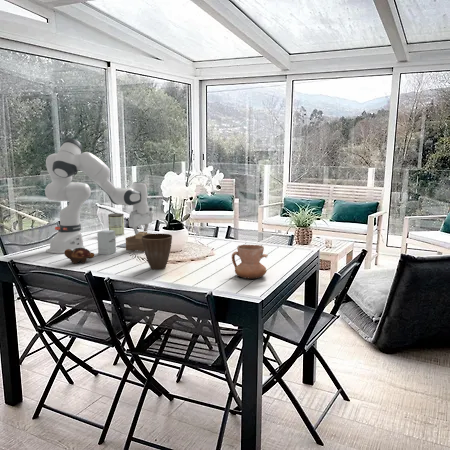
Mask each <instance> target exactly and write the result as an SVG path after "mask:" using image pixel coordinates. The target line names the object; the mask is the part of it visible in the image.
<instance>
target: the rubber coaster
mask: <svg viewBox="0 0 450 450" xmlns="http://www.w3.org/2000/svg"><path fill="white" fill-rule="evenodd" d="M116 248H122V249H123V248H125V249H126V242H124V243H121V244H116Z"/></svg>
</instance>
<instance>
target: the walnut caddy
mask: <svg viewBox="0 0 450 450" xmlns="http://www.w3.org/2000/svg"><path fill="white" fill-rule="evenodd" d="M148 234H153V233H152V232H151V233H150V232H147V235H148ZM125 243H126V248H125V250H126V251H134V252H135V250H138V251H137V252H144V248H143V243H142V239H137V238H136V237H135V234H134V235H131V236H128V237H127V236H126V237H125Z"/></svg>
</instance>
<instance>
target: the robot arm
mask: <svg viewBox="0 0 450 450" xmlns="http://www.w3.org/2000/svg"><path fill="white" fill-rule="evenodd" d="M45 167H46V170H47V173H48V174H49V177H50V180H51V182H49V183H48V184H47V185H46V186H45V190H44V194H45V197H46V198H47V199H48V200H50V201H54V202H68V206H65V207H63V208H62V209H60V211H59V226H54V230H55V231H57V233H55V235H54V237H53V238H52V239H51V240H50V243H49V244H50V245H49V247H50V248H47V249H46V250H45V252H46V253H48V254H64V252H65V250H67V249H71V250H74V249H76V248H85V249H86V246H85V245H84V241H83V235H82V232H81V230H82V225H81V221H80V220H81V219H80V218H81V216H80V215H81V209H82V207H83V205H84V203H85V202H86V201H88V199H90V197H91V195H92V190H91V186H90V185H89V184H88V183H85V182H80V181H79V182H77V181H73V175H74V176H75V175H77V174H78V173H79V172H78V171H80V172H83V174H85V175H86V176H87V177H88V178H89V179H90V180H92V181H93V182H94V183H95V184H96V185H97V186H98V188H100V189H101V190H102V191H103V192H104V193H105V194H106V195H107V197H108V199H109V200H110V202H111V204H114V205H118V206H119V205H120V206H121V205H122V206H128V207H130V206H132V211H131V212H130V213H129V216H128V226H129V228H132V229H133V232H134V235H135V234H138V233H139V232H140V231H139V230H138V228H139V227H141V226H144V227H143V232H148V230H149V229H148V228H149V224H151V223H152V222H153V221H154V220H153V218H154V217H153V210H154V209H153V207H151V206H149V203H148V197H149V195H148V188H147V184H146V183H144V182H140V181H139V182H138V181H134V182H132V183H131V185H129V186H128V187H126V188H124V187H118V186H116V185H114V184H113V183H112V182H111V181H110V180H109V178H110V176H111V169H110V168H109V166H108V165H107V164H106V163H105V162H104V161H103V160H101V159H100V158H99V157H98V156H96V155H95V154H93V153H92V152H89V151H85V152H83V145H82V143H81V142H80V141H78V140H77V139H76V138H75V139H74V138H66V139H65V140H64V141H63V142H62V143H61V145H60V148H59V149H58V151H57V153H52V154H49V155H48V156H47V157H46V159H45Z"/></svg>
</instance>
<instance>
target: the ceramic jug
mask: <svg viewBox="0 0 450 450" xmlns="http://www.w3.org/2000/svg"><path fill="white" fill-rule="evenodd" d="M264 251H265V249H264V246H263V245H260V244H241V245H238V246H237V251H233V252H232V254H231V262H232V264H233V265H234V272H235V275H237V276H238V277H241V278H243V279H249V280H250V279H251V280H254V279H259V278H261V277H264V276H265V274H267V268H266V266H265V265H264V264H262V263H261V262H260V261H261V259H262V258H266V259H267V258H268V256H269V255H268V254H267V253H266V254H265V253H264ZM236 256H237V257H239V259H240V261H241V262H240V263H239V264H237V263H236V258H235V257H236Z"/></svg>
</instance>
